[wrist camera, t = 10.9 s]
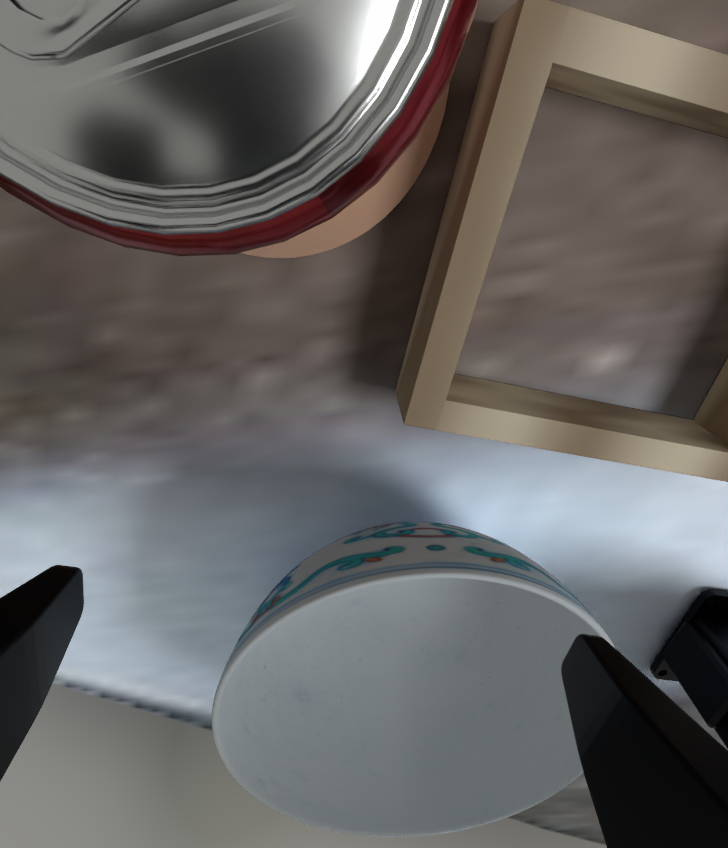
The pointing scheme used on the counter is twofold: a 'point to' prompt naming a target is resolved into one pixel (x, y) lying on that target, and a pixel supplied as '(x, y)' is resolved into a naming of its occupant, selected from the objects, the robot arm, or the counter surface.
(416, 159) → the saucer
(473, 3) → the soda can
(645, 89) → the square beige frame
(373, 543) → the chinaware
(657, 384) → the counter surface
